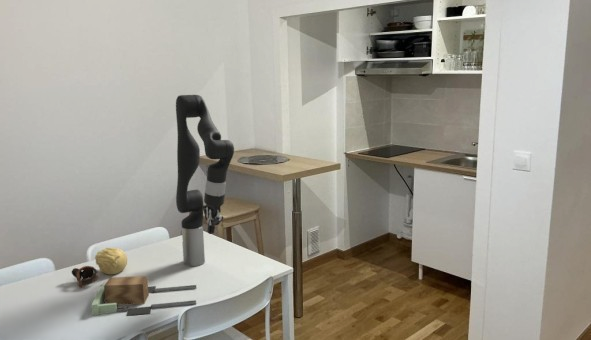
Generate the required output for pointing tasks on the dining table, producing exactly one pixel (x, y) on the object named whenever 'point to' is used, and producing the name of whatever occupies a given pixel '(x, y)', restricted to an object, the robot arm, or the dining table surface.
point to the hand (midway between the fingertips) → (210, 232)
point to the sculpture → (111, 260)
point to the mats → (141, 309)
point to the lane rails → (167, 303)
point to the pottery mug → (85, 275)
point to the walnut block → (126, 290)
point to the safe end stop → (98, 303)
